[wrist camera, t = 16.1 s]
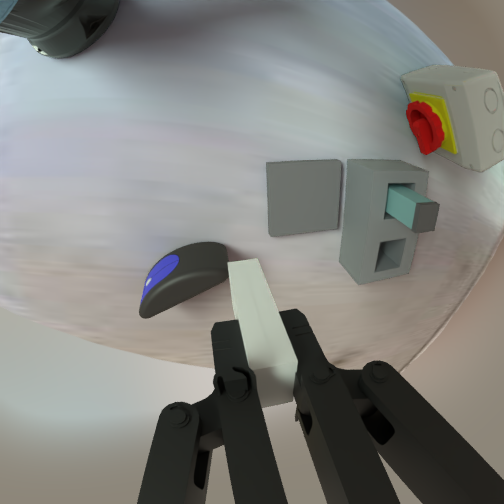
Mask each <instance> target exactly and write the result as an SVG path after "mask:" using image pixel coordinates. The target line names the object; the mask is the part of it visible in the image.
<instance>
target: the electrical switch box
mask: <svg viewBox="0 0 504 504" xmlns="http://www.w3.org/2000/svg"><path fill="white" fill-rule="evenodd" d="M401 81H402V83H403V86H404V89H405V91H406V94H407V96H408V99H409V102H410V103H409V104H408V109H407V110H406V116H407V119H408V121H409V125H410V128H411V130H412V132H413V134H414V135H415V136H416V137H417V141H418V144H419V148H420V151H421V153H423V154H425V155H427V154H429V153H431V152H435V153H437V154H439V155H441V156H443V157H445V158H447V159H449V160H451V161H453V162H454V163H456V164H458V165H460V166H462V167H464V168H466V169H470V170H474V171H477V172H483V171H485V170H487V169H489V168H491V167H492V166H494V165H496V164H497V163H499V162H500V161H502V160H503V159H504V91H503V88H502V85H501V83H500V80H499V78H498V75H497V73H496V72H494V71H492V70H486V69H478V68H470V67H460V66H448V65H431V66H428V67H425V68H421V69H418V70H415V71H412V72H409V73H407V74H404V75H402V76H401Z"/></svg>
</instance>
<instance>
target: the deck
mask: <svg viewBox="0 0 504 504" xmlns="http://www.w3.org/2000/svg"><path fill="white" fill-rule="evenodd" d="M266 170H267V197H268V228H269V235H270V237H275V236H283V235H291V234H299V233H307V232H315V231H323V230H331V229H337V224H338V212H339V197H340V179H341V161H340V160H337V159H332V160H301V161H282V162H267V163H266Z"/></svg>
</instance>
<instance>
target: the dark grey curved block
mask: <svg viewBox="0 0 504 504" xmlns="http://www.w3.org/2000/svg"><path fill="white" fill-rule="evenodd" d="M227 262H229V260H228V256H227V251H226V248H225V246H224V245H222V244H219V243H215V242H201V243H194V244H190V245H186V246H183V247H181V248H178V249H176V250H174V251H172V252H170V253H169V254H167V255H166V256H164V257H163V258H162V259H161V260H159V261H158V262H157V263H156V264H155V265H154V267H153V268H152V269H151V271H150V272H149V274H148V276H147V278H146V282H145V286H144V290H143V295H142V299H141V304H140V309H139V315H140V316H141V317H142V318H145V319H146V318H151V317H153V316H155V315H157V314H159V313H161V312H163V311H165V310H167V309H169V308H171V307H173V306H175V305H177V304H179V303H182V302H184V301H186V300H188V299H190V298H192V297H194V296H196V295H198V294H200V293H202V292H204V291H206V290H208V289H210V288H212V287H214V286H216V285H218V284H220V283H222V282H224V281H225V280H226V279H228V277H229V271H228V263H227Z"/></svg>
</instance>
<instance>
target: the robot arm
mask: <svg viewBox="0 0 504 504" xmlns="http://www.w3.org/2000/svg"><path fill="white" fill-rule="evenodd" d="M118 5H119V0H0V32H1V33H6V34H11V35H15V36H20V37H24V38H27V39H28V41H29V42H30V44H31V45H32V46H33V48H34V49H35V50H36V51H37V52H38V53H40V54H42V55H44V56H48V57H52V58H65V57H69V56H72V55H75V54H77V53H79V52H81V51H83V50H84V49H86V48H87V47H89V46H90V45H92V44H93V43H94V42H95V41H96V40H98V39H99V38H100V37H101V36H102V34H103V33H104V32H105V31H106V30H107V29H108V27H109V26H110V24H111V23H112V21H113V19H114V17H115V15H116V13H117V10H118ZM227 263H228V271H229V280H230V288H231V296H232V304H233V309H234V314H235V319H236V320H230V321H223V322H216V323H215V324H214V326H213V328H212V330H211V338H212V348H213V356H214V365H215V373H216V374H215V375H214V379H213V384H214V388H215V389H214V391H213V393H212V394H211V395H209V396H208V397H207V398H206V399H203V400H201V401H199V402H197V403H194V404H192V405H190V404H188V403H185V402H175V403H172V404H169V405H168V406H166V407H165V408H164V409H163V410H162V412H161V414H160V416H159V420H158V423H157V426H156V430H155V434H154V437H153V441H152V445H151V449H150V453H149V456H148V461H147V464H146V468H145V472H144V476H143V481H142V485H141V489H140V493H139V497H138V502H137V504H205V501H206V494H207V487H208V479H209V473H210V466H211V459H212V458H211V457H212V451H213V449H215V448H217V447H220V446H222V445H224V446H225V451H226V457H227V463H228V469H229V474H230V480H231V485H232V490H233V495H234V499H235V504H288V502H287V499H286V496H285V492H284V488H283V485H282V482H281V478H280V475H279V471H278V467H277V464H276V460H275V456H274V453H273V449H272V445H271V441H270V438H269V434H268V430H267V427H266V423H265V419H264V415H263V411H262V408H264V407H269V406H274V405H279V404H283V403H288V402H292V401H293V397H294V398H295V401H296V404H297V408H296V414H295V421H298V419H299V422H300V425H301V428H302V431H303V434H304V437H305V439H306V442H307V445H308V448H309V451H310V454H311V457H312V460H313V463H314V466H315V469H316V472H317V475H318V478H319V481H320V484H321V486H322V489H323V492H324V495H325V498H326V501H327V504H400V502H399V499H398V497H397V495H396V492H395V490H394V488H393V486H392V483H391V481H390V479H389V477H388V475H387V472H386V470H385V468H384V466H383V463H382V461H381V459H380V457H379V455H378V453H379V454H380V455H381V456H382V457H383V459H384V460H385V461H386V462H387V463H388V465H389V466H390V467H391V468H392V469H393V470H394V472H395V473H396V474H397V475H398V476H399V477H400V479H401V480H402V481H403V482H404V483H405V484H406V485H407V486H408V488H409V489H410V490H411V491H412V492H413V493H414V495H415V496H416V497H417V498H418V499H419V500H420V501H421V502H422V503H423V504H504V480H503V479H502V478H501V477H500V476H499V475H498V474H497V472H495V470H494V469H493V468H492V467H491V466H490V465H489V464H488V463H487V462H486V461H485V460H484V459H483V458H482V457H481V456H480V455H479V454H478V453H477V451H476V450H475V449H474V448H473V447H472V446H471V445H470V444H469V443H468V442H467V441H466V440H465V439H464V438H463V437H462V436H461V435H460V434H459V433H458V432H457V431H456V430H455V429H454V428H453V427H452V426H451V425H450V424H449V423H448V422H447V421H446V420H445V419H444V418H443V417H442V416H441V415H440V414H439V413H438V412H437V411H436V410H435V409H434V408H433V407H432V406H431V405H430V404H429V403H428V402H427V401H426V400H425V399H424V398H423V397H422V396H421V395H420V394H419V393H418V392H417V391H416V390H415V389H414V388H413V387H412V386H411V385H410V384H409V383H408V382H407V381H406V380H405V379H404V378H403V377H402V376H401V375H400V374H399V373H398V372H397V371H396V370H395V369H394V368H393V367H392V366H391V365H389V364H388V363H386V362H383V361H372V362H369V363H367V364H366V365H365V366H364V367H363V370H345V369H340V368H336V367H335V366H334V365H332V364H331V363H329V362H328V361H327V359H326V357H325V355H324V353H323V351H322V349H321V347H320V345H319V343H318V341H317V339H316V337H315V335H314V333H313V331H312V329H311V327H310V326H309V323H308V321H307V319H306V317H305V315H304V314H303V313H301V312H300V311H299V310H298V309H291V310H286V311H280V312H278V309H277V307H276V304H275V302H274V299H273V297H272V294H271V292H270V289H269V287H268V284H267V282H266V279H265V276H264V274H263V271H262V269H261V266H260V264H259V261H258V259H257V258H256V259H249V260H242V261H234V262H227Z"/></svg>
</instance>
